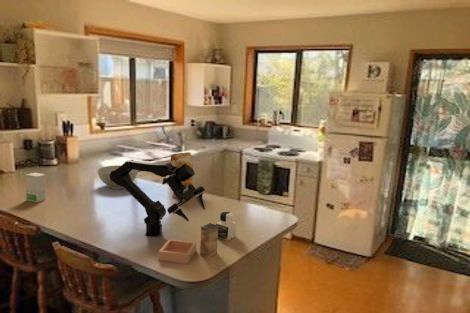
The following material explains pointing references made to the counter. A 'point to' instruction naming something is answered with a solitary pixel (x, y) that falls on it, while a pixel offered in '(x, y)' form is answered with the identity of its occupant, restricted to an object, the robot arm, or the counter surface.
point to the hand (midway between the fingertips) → (196, 215)
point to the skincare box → (35, 187)
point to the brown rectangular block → (209, 240)
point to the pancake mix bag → (179, 160)
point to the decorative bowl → (105, 175)
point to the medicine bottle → (226, 226)
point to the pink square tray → (177, 251)
